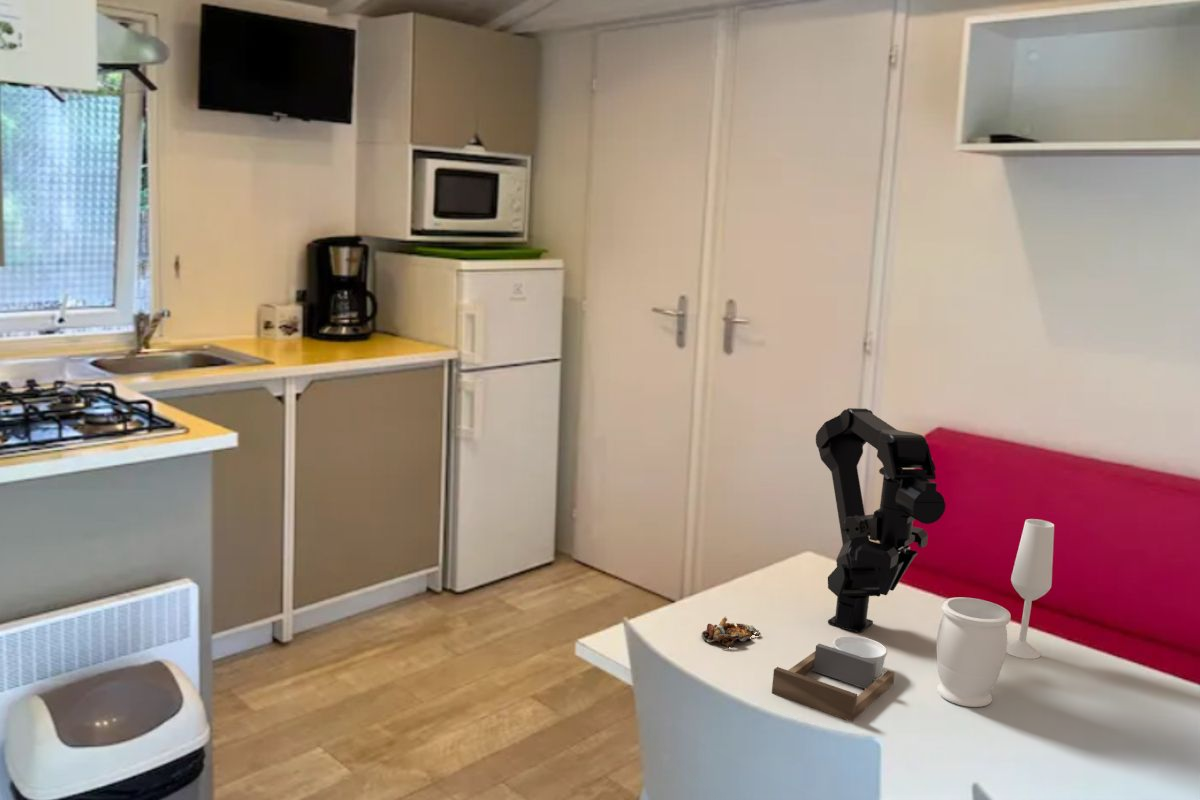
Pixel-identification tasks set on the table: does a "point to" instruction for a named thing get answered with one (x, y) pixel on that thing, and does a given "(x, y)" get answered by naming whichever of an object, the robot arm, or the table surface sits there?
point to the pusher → (844, 666)
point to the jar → (970, 649)
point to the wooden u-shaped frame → (826, 690)
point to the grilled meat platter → (728, 633)
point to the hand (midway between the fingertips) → (887, 592)
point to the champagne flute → (1032, 577)
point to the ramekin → (863, 649)
